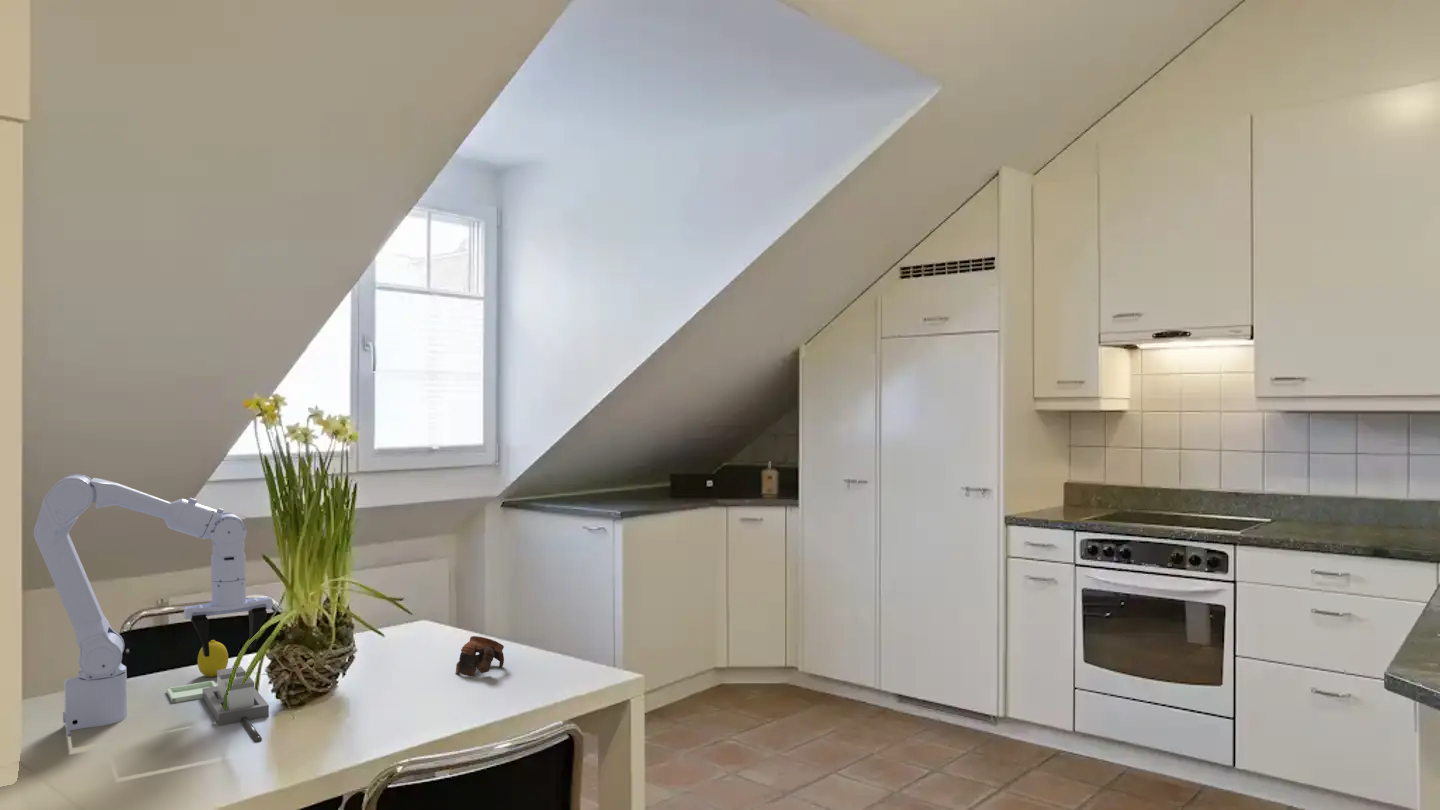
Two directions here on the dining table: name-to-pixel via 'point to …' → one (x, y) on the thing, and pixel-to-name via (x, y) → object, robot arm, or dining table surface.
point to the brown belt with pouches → (479, 655)
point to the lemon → (213, 659)
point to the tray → (188, 691)
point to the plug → (224, 676)
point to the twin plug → (240, 694)
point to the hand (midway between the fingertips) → (229, 652)
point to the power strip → (237, 711)
